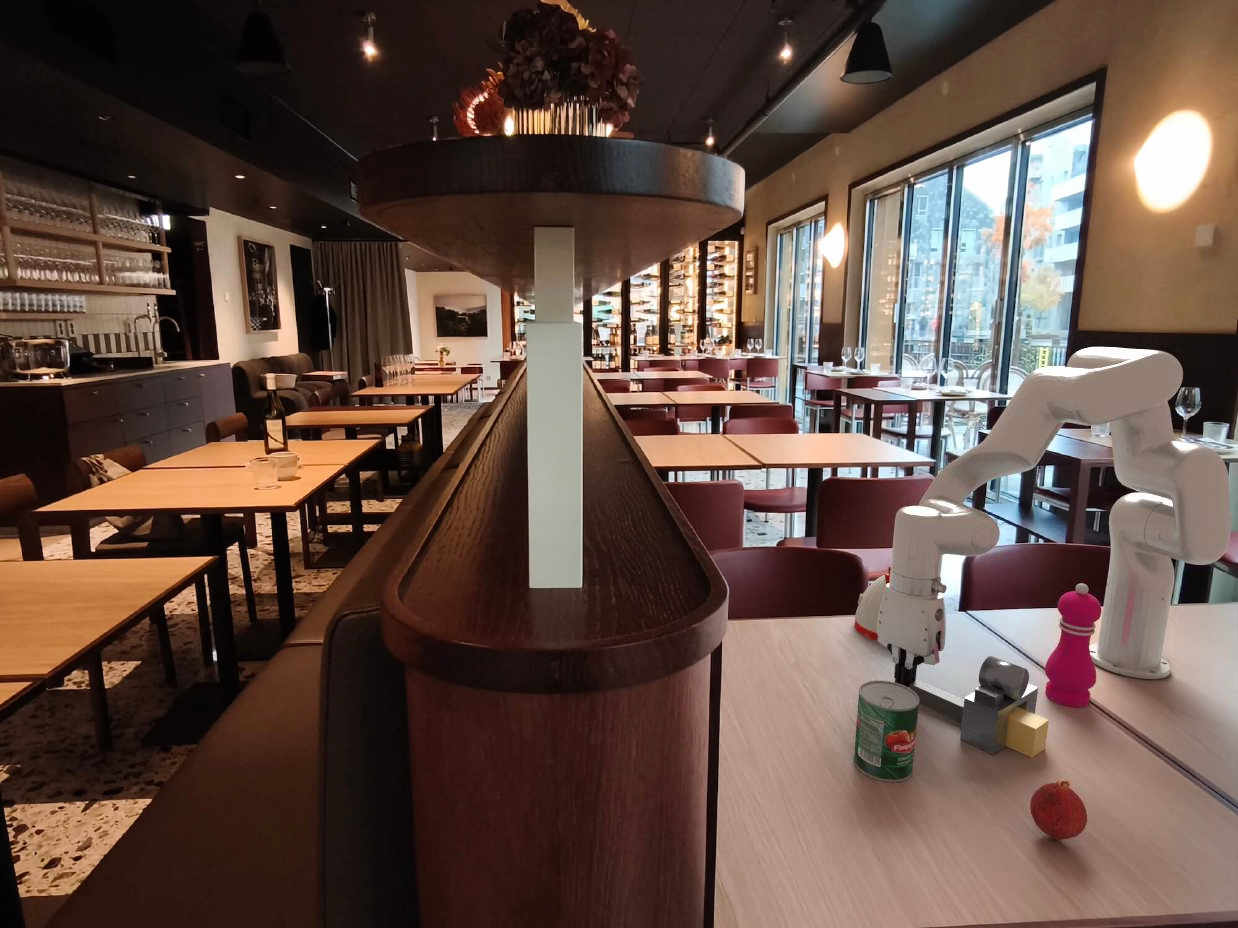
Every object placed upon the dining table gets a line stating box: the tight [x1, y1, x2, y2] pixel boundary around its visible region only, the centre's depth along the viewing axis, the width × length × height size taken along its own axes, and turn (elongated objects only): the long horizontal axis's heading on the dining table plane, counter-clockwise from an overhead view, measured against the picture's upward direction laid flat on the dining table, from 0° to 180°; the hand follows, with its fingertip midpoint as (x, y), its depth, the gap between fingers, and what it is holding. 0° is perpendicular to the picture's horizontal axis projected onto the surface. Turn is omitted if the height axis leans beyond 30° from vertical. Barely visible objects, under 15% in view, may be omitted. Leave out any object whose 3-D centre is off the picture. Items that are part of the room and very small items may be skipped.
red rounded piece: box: [1029, 777, 1088, 841], centre depth 88 cm, size 6×6×8 cm
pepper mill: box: [1044, 583, 1102, 708], centre depth 119 cm, size 7×7×20 cm
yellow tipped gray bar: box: [909, 679, 1050, 759], centre depth 113 cm, size 4×20×5 cm, turn 37°
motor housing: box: [959, 655, 1039, 756], centre depth 109 cm, size 12×5×12 cm, turn 126°
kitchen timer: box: [854, 566, 891, 642], centre depth 146 cm, size 14×14×15 cm
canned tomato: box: [853, 679, 920, 783], centre depth 102 cm, size 8×8×11 cm
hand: (904, 685), depth 123 cm, fingers closed
